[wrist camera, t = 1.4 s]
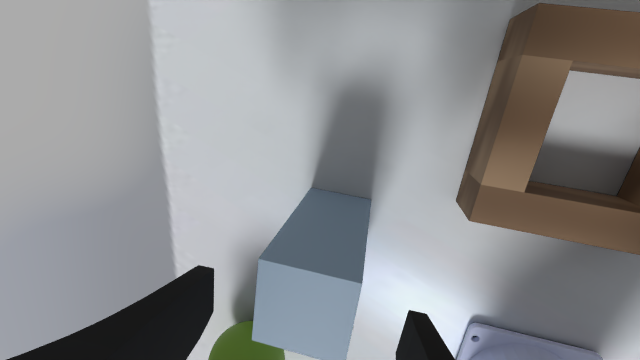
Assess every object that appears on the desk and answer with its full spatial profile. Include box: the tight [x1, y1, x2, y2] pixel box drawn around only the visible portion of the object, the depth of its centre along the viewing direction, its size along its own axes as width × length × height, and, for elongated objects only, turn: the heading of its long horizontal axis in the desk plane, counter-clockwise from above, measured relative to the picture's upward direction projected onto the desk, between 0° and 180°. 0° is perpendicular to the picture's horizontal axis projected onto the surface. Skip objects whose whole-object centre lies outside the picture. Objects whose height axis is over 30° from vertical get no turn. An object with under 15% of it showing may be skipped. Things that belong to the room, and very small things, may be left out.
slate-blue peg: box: [252, 188, 371, 360], centre depth 16 cm, size 4×4×9 cm
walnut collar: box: [456, 3, 640, 255], centre depth 15 cm, size 10×10×3 cm
